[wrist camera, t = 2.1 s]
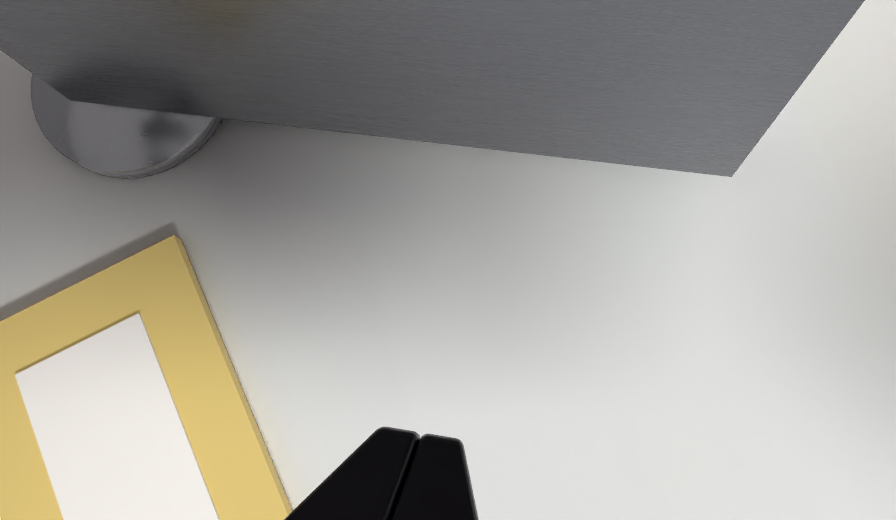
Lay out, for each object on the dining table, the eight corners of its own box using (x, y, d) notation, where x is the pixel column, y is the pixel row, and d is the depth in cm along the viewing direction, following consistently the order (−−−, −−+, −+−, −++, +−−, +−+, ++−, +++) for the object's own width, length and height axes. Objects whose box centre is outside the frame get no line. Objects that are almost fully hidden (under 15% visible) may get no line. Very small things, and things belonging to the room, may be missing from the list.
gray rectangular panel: (70, 101, 19) (-247, -130, 12) (90, 25, 20) (-203, -248, 12) (731, 176, 17) (895, -42, 9) (739, 91, 18) (903, -188, 10)
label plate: (63, 679, 17) (50, 686, 17) (-42, 349, 19) (-57, 347, 19) (311, 555, 17) (304, 559, 17) (180, 239, 19) (171, 234, 19)
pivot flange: (82, 212, 20) (68, 205, 19) (20, 49, 21) (5, 37, 20) (263, 122, 20) (255, 112, 19) (191, -36, 21) (181, -50, 20)
